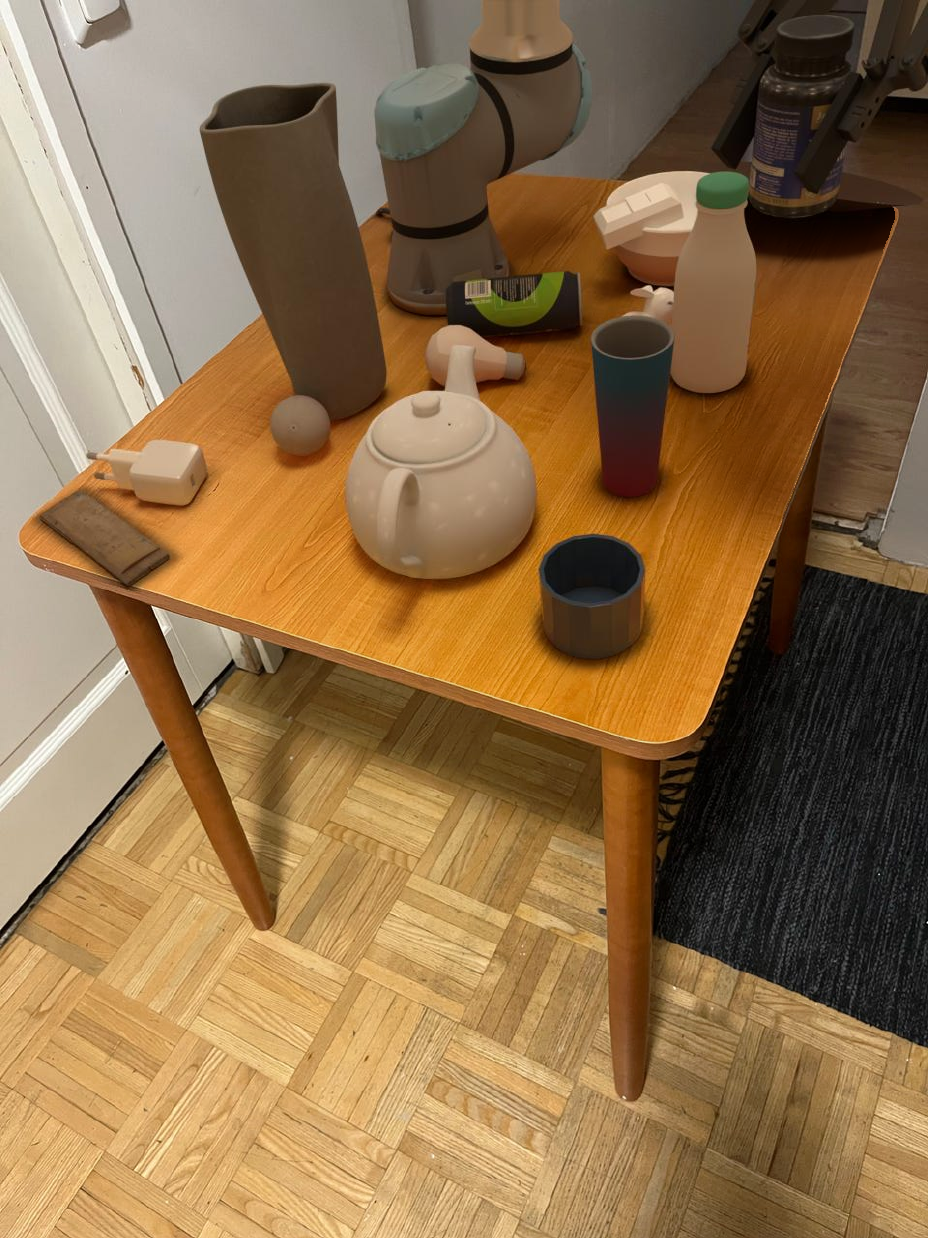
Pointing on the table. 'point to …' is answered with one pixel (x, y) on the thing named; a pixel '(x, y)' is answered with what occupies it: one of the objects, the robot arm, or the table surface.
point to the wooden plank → (104, 537)
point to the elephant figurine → (655, 303)
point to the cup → (631, 399)
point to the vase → (299, 238)
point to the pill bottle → (798, 113)
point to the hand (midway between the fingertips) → (763, 170)
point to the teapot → (441, 482)
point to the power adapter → (157, 471)
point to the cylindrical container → (592, 595)
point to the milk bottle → (714, 289)
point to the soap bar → (637, 214)
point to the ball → (300, 425)
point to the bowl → (659, 229)
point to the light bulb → (486, 360)
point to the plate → (842, 189)
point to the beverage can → (516, 304)
